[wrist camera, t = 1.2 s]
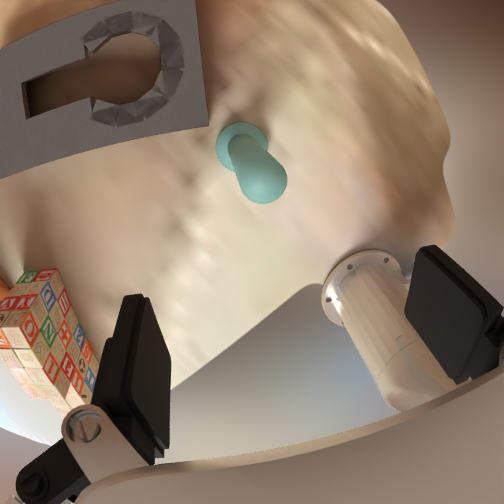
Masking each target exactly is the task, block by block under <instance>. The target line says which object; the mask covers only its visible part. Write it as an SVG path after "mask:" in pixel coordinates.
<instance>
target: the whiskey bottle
mask: <svg viewBox="0 0 504 504" xmlns="http://www.w3.org/2000/svg"><path fill="white" fill-rule="evenodd" d="M9 291H10V289H9V287H8V286H7V285H6V284H5V283H4V282H3V280H2V279H1V278H0V303H1V301H2V300H3V299H4V298H5V297H6V295H7V294H8V293H9Z"/></svg>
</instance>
